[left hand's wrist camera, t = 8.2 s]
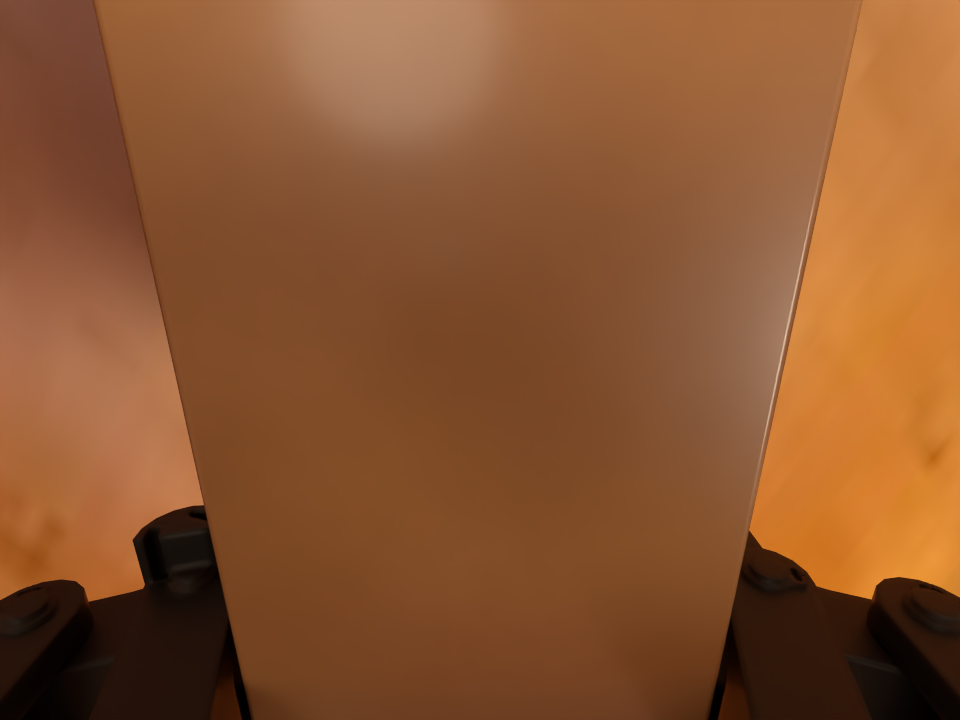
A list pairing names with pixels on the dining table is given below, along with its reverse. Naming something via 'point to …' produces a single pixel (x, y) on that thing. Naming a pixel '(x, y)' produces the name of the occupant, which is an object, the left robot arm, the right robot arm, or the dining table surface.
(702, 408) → the bar
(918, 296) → the dining table surface
